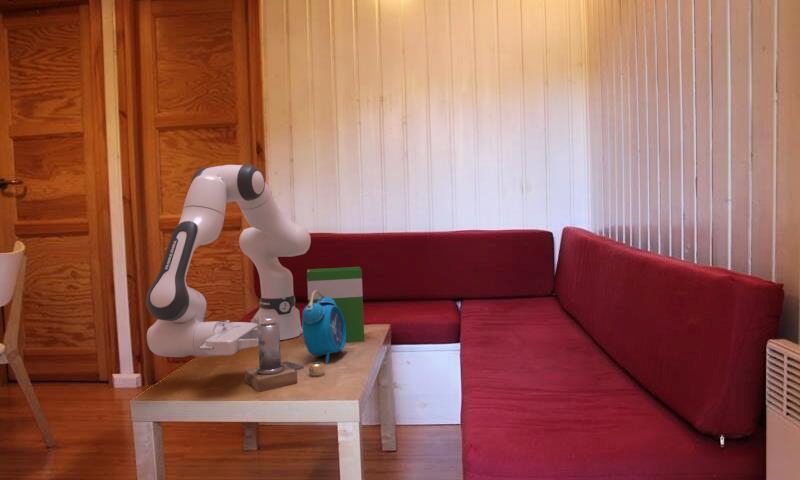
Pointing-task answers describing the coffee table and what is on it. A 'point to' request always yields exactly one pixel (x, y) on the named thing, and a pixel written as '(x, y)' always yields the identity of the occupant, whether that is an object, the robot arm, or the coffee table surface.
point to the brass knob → (316, 369)
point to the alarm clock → (323, 327)
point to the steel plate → (293, 365)
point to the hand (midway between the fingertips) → (264, 337)
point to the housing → (269, 347)
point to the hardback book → (341, 296)
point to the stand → (270, 379)
